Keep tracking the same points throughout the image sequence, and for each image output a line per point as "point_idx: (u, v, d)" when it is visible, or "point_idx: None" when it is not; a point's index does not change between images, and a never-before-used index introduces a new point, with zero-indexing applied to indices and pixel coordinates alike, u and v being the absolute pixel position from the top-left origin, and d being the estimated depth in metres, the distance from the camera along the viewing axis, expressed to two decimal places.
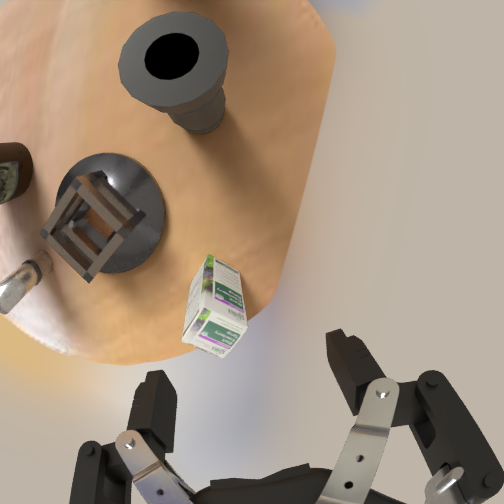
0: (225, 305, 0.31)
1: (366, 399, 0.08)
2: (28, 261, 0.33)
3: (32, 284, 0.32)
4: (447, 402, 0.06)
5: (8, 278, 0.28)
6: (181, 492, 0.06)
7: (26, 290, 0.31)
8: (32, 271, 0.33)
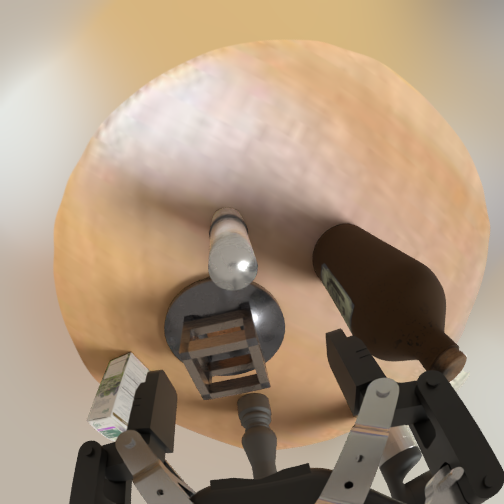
0: None
1: (366, 399, 0.08)
2: None
3: None
4: (447, 402, 0.06)
5: None
6: (181, 492, 0.06)
7: None
8: None
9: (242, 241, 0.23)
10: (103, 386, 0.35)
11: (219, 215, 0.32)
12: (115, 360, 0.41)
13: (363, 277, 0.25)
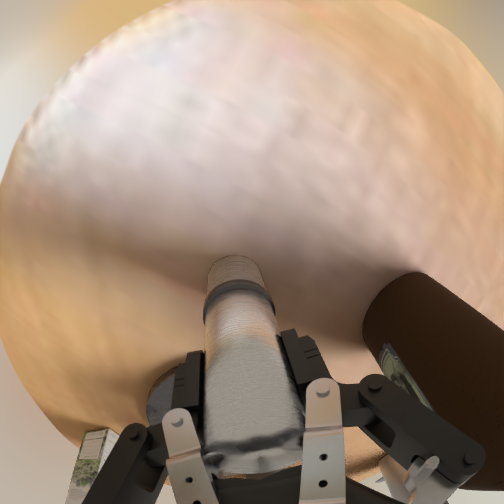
0: None
1: (308, 402, 0.09)
2: None
3: None
4: (397, 401, 0.07)
5: None
6: (210, 485, 0.06)
7: None
8: None
9: (282, 395, 0.09)
10: (78, 470, 0.20)
11: (221, 279, 0.17)
12: (91, 434, 0.26)
13: (470, 396, 0.10)
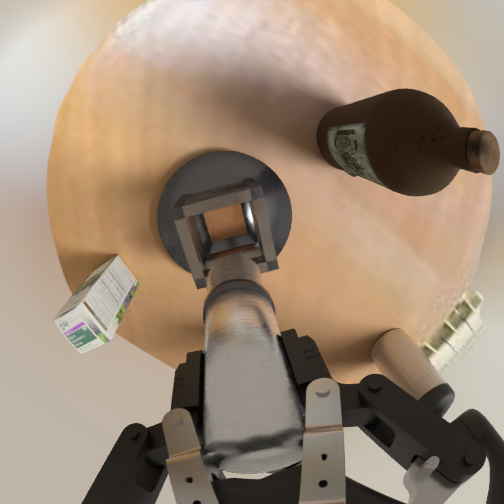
0: None
1: (308, 402, 0.09)
2: None
3: None
4: (397, 401, 0.07)
5: None
6: (210, 485, 0.06)
7: None
8: None
9: (282, 394, 0.09)
10: (81, 287, 0.32)
11: (221, 278, 0.17)
12: None
13: (370, 102, 0.22)
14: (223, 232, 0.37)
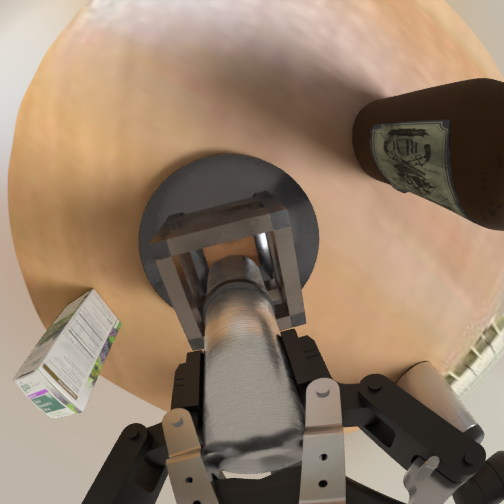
0: None
1: (308, 402, 0.09)
2: None
3: None
4: (397, 401, 0.07)
5: None
6: (210, 485, 0.06)
7: None
8: None
9: (281, 395, 0.09)
10: (47, 333, 0.22)
11: (221, 278, 0.17)
12: (72, 302, 0.28)
13: (446, 92, 0.12)
14: None
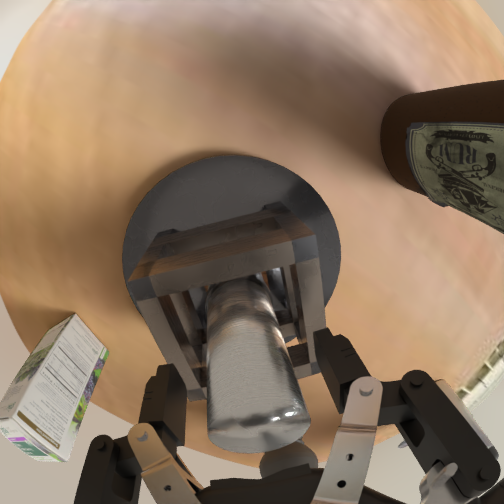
0: None
1: (350, 398, 0.08)
2: None
3: None
4: (433, 400, 0.07)
5: None
6: (189, 489, 0.06)
7: None
8: None
9: (279, 375, 0.10)
10: (25, 366, 0.17)
11: None
12: (53, 327, 0.23)
13: None
14: None
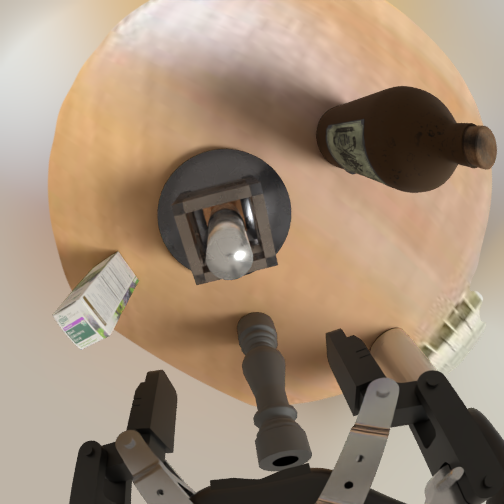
0: None
1: (366, 399, 0.08)
2: None
3: None
4: (447, 402, 0.06)
5: None
6: (181, 492, 0.06)
7: None
8: None
9: (238, 233, 0.25)
10: (80, 283, 0.32)
11: (217, 210, 0.33)
12: (99, 263, 0.38)
13: (368, 100, 0.22)
14: None
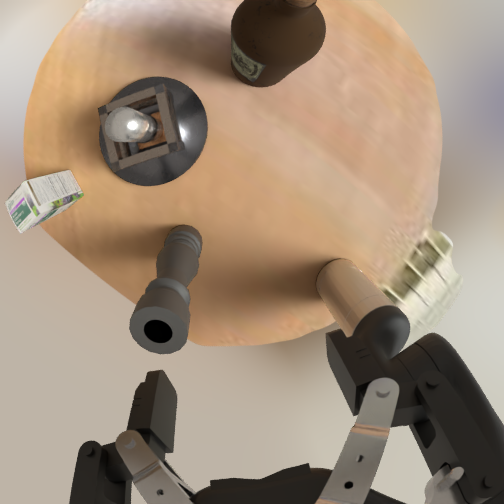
0: (38, 219, 0.31)
1: (366, 399, 0.08)
2: (153, 136, 0.35)
3: None
4: (447, 402, 0.06)
5: (142, 134, 0.29)
6: (181, 492, 0.06)
7: None
8: None
9: (132, 109, 0.26)
10: None
11: None
12: None
13: None
14: None
